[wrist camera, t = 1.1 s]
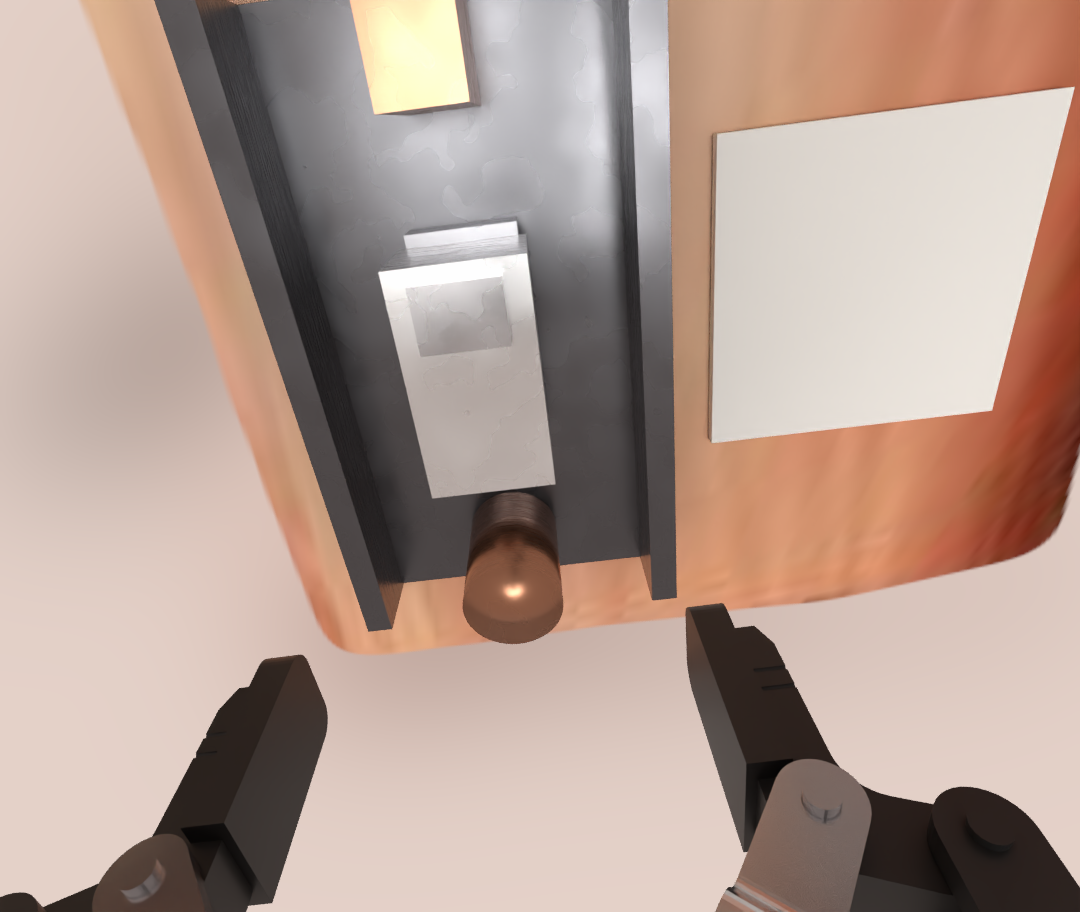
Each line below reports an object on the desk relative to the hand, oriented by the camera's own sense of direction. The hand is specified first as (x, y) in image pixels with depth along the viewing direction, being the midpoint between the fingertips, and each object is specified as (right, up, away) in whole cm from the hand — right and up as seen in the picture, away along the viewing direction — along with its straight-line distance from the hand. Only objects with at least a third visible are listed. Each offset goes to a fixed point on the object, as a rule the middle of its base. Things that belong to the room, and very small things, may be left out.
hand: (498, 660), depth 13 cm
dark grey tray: (-2, +10, +16) cm, 19 cm away
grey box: (-2, +9, +13) cm, 16 cm away
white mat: (+16, +12, +15) cm, 25 cm away
